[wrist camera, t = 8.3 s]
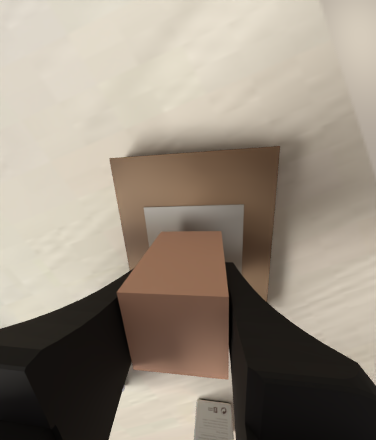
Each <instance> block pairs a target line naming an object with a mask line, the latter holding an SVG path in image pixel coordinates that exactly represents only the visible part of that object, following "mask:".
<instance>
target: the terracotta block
mask: <svg viewBox="0 0 376 440" xmlns="http://www.w3.org/2000/svg"><path fill="white" fill-rule="evenodd" d="M117 297H118V301H119V306H120V310H121V315H122V319H123V324H124V329H125V333H126V338H127V342H128V347H129V351H130V356H131V361H132V365H133V370H143V371H152V372H162V373H171V374H181V375H190V376H200V377H209V378H219V379H228V351H229V294H228V285H227V276H226V267H225V258H224V250H223V241H222V232H221V231H173V232H161V233H160V234H159V235H158V237H157V238H156V239H155V241H154V242H153V243H152V245H151V246H150V248H149V249H148V250H147V252H146V253H145V254H144V256H143V257H142V258H141V260H140V261H139V263H138V264H137V265H136V267H135V268H134V269H133V271H132V272H131V273H130V275H129V276H128V277H127V279H126V280H125V282H124V283H123V284H122V286H121V287H120V288H119V290H118V291H117Z"/></svg>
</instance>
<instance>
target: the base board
mask: <svg viewBox="0 0 376 440" xmlns="http://www.w3.org/2000/svg"><path fill="white" fill-rule="evenodd" d="M279 153H280V146H274V147H260V148H246V149H232V150H219V151H205V152H191V153H177V154H163V155H150V156H136V157H122V158H109V159H110V164H111V170H112V175H113V181H114V186H115V192H116V197H117V203H118V208H119V214H120V219H121V225H122V230H123V236H124V241H125V246H126V252H127V257H128V263H129V268H130V271H131V270H132V269H133V268H135V267H136V265H137V264H138V263H139V261H140V260H141V258H142V257H143V256H144V254H145V253H146V252H147V250H148V249H149V248H150V246H151V245H152V243H153V242H154V241H155V239H156V238H157V237H158V235H159V234H160V233H161V232H173V231H221V232H222V241H223V250H224V258H225V262H233V263H234V264H235V265H236V267H237V269H238V270H239V271H240V273H241V274H242V275H243V277H244V278H245V279H246V281H247V282H248V283H249V284H250V285H251V286H252V288H253V289H254V290H255V291H256V292H257V293H258V294H259V295H260V296H261V297H262V298H263V299H264V300H265V301H266V302H267V293H268V282H269V270H270V258H271V246H272V235H273V223H274V211H275V200H276V188H277V176H278V164H279Z"/></svg>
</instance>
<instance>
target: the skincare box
mask: <svg viewBox="0 0 376 440" xmlns="http://www.w3.org/2000/svg"><path fill="white" fill-rule="evenodd" d="M194 440H234V437H233V422H232V407H231V404H229V403H222V402H214V401H207V400H197V402H196V416H195V430H194Z"/></svg>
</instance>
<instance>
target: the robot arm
mask: <svg viewBox="0 0 376 440" xmlns="http://www.w3.org/2000/svg"><path fill="white" fill-rule="evenodd" d="M225 267H226V276H227V285H228V294H229V351H230V360H231V373H232V387H233V402H234V416H235V431H236V440H376V386H375V384H374V383H373V382H372V380H371V379H370V378H369V377H368V375H367V374H366V373H365V372H364V370H363V369H362V368H361V367H360V365H359V364H358V363H357V362H355V361H353V360H351V359H350V358H348V357H346V356H344V355H343V354H341V353H339V352H337V351H336V350H334V349H332V348H330V347H329V346H327V345H325V344H323V343H322V342H320V341H319V340H317V339H316V338H314V337H312V336H311V335H309V334H308V333H306V332H305V331H303V330H302V329H300V328H299V327H297V326H296V325H295V324H293V323H292V322H290V321H289V320H288V319H286V318H285V317H284V316H283V315H281V314H280V313H279V312H277V311H276V310H275V309H274V308H273V307H272V306H270V305H269V304H268V303H267V302H266V301H265V300H264V299H263V298H262V297H261V296H260V295H259V294H258V293H257V292H256V291H255V290H254V289H253V288H252V286H251V285H250V284H249V283H248V282H247V281H246V279H245V278H244V277H243V275H242V274H241V273H240V271H239V270H238V269H237V267H236V265H235V264H234V263H233V262H225ZM133 269H134V268H133ZM133 269H132V270H131V271H129V272H128V273H126V274H125V275H123V276H122V277H120V278H118V279H117V280H115V281H114V282H112V283H110V284H109V285H107V286H105V287H104V288H102V289H100V290H98V291H97V292H95V293H93V294H91V295H89V296H87V297H85V298H83V299H81V300H79V301H76V302H74V303H72V304H70V305H67V306H65V307H63V308H60V309H58V310H55V311H53V312H50V313H48V314H45V315H42V316H39V317H37V318H34V319H31V320H28V321H25V322H22V323H18V324H15V325H12V326H8V327H5V328H2V329H0V440H109V436H110V432H111V428H112V425H113V421H114V418H115V414H116V411H117V407H118V404H119V400H120V397H121V393H122V391H124V389H125V380H126V377H127V374H128V371H129V368H130V365H131V362H132V361H131V356H130V351H129V347H128V342H127V338H126V333H125V329H124V324H123V319H122V315H121V310H120V306H119V301H118V297H117V291H118V290H119V288H120V287H121V286H122V284H123V283H124V282H125V280H126V279H127V277H128V276H129V275H130V273H131V272H132V271H133Z"/></svg>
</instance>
